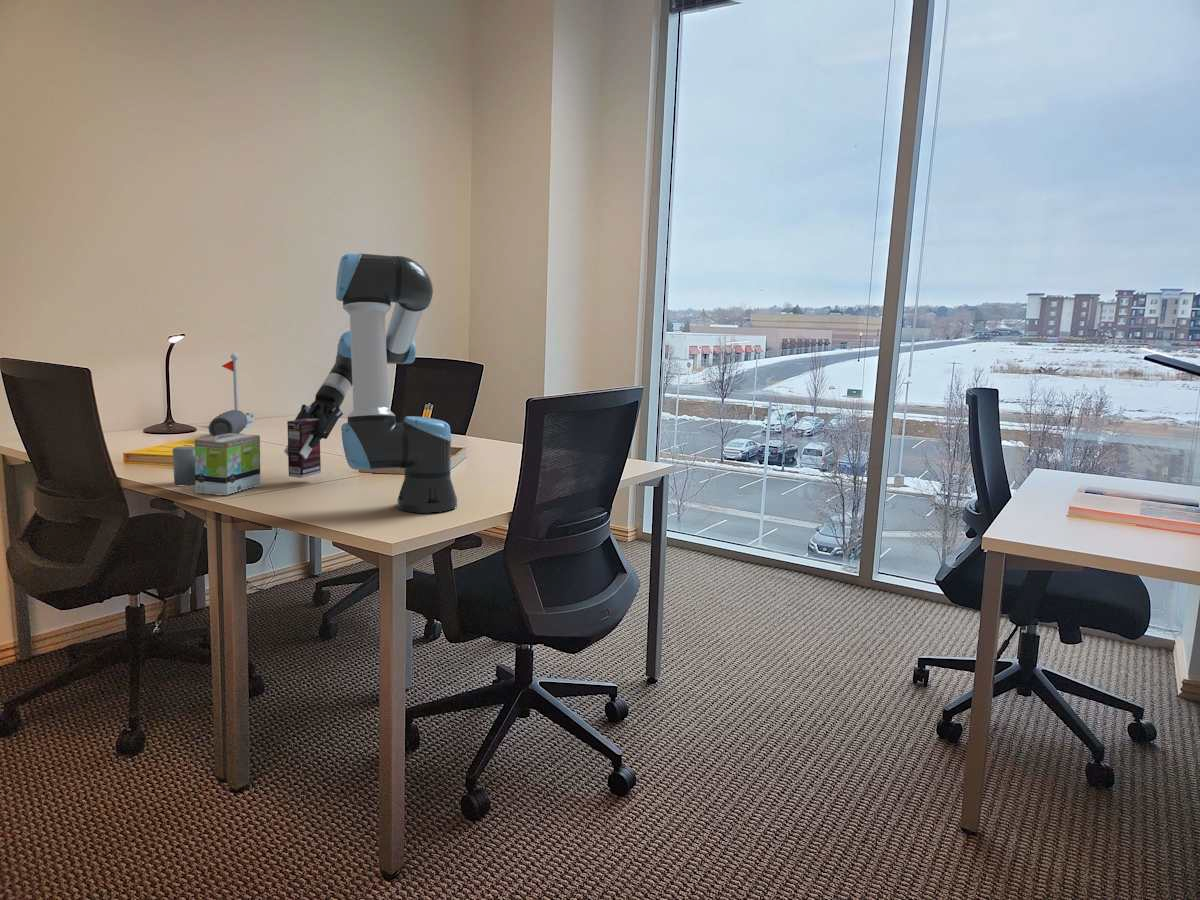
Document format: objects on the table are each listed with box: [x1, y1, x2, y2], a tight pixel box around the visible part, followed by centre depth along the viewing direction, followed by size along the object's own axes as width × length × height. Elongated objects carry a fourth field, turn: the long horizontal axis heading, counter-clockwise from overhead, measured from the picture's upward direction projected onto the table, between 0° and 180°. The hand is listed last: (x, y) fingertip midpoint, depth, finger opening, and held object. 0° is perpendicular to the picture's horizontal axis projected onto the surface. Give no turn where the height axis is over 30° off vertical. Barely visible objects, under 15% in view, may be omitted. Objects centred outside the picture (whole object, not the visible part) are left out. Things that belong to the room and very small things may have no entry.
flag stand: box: [218, 352, 255, 429], centre depth 336 cm, size 13×13×30 cm
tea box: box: [194, 433, 261, 496], centre depth 227 cm, size 15×10×15 cm
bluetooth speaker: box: [208, 409, 247, 437], centre depth 309 cm, size 23×9×10 cm, turn 10°
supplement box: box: [286, 418, 322, 479], centre depth 237 cm, size 9×5×16 cm, turn 160°
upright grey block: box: [172, 445, 196, 487], centre depth 232 cm, size 7×7×10 cm
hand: (295, 454), depth 234 cm, fingers closed on supplement box, 5 cm apart
